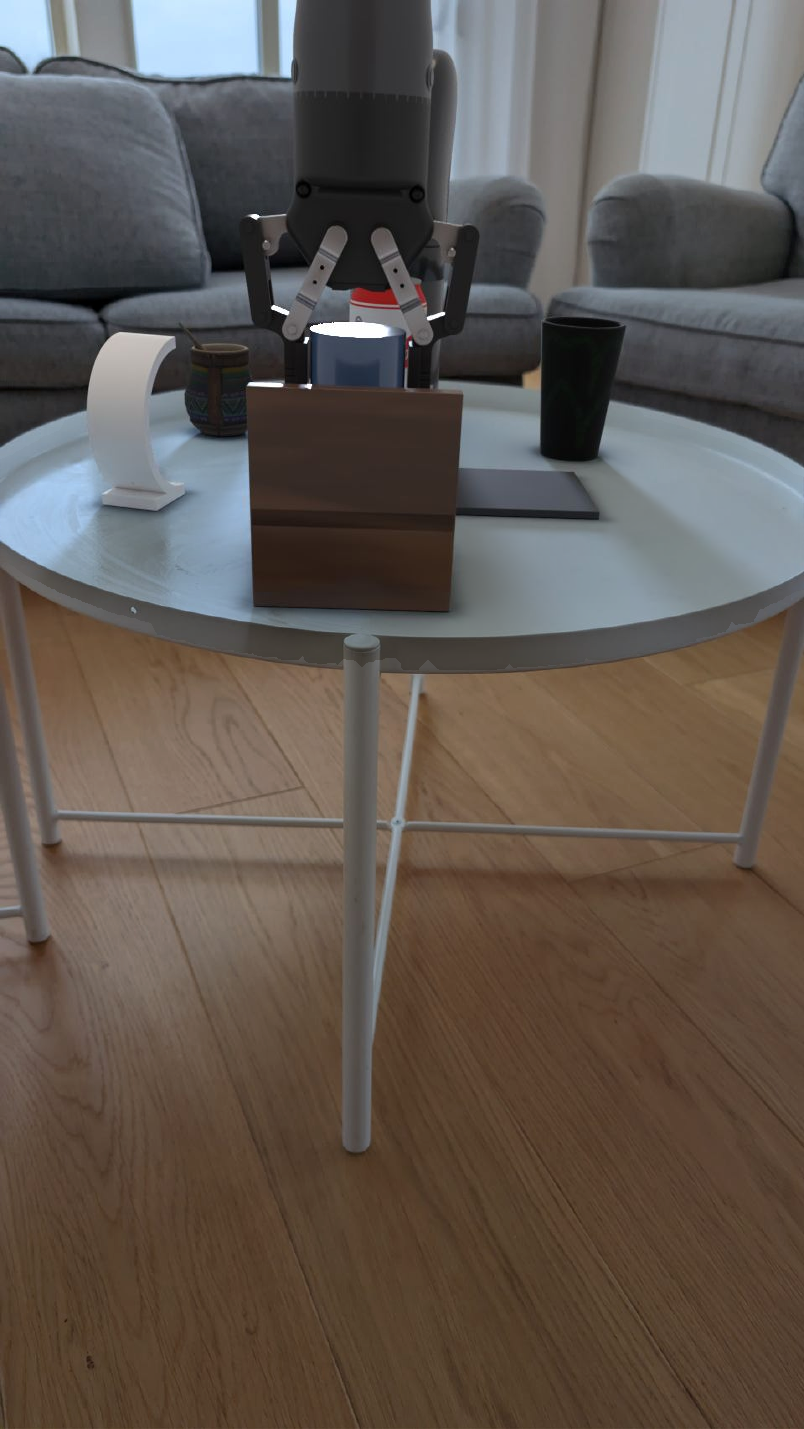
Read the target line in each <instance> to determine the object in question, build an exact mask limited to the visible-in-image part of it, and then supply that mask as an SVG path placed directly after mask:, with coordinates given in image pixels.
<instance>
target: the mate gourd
mask: <svg viewBox="0 0 804 1429" xmlns="http://www.w3.org/2000/svg"><path fill="white" fill-rule="evenodd" d="M178 326H180V328H181V329H182V330H183V332H184V334H186V336H187V337H188V339H189V340H190V341H191V342H192V343H193V344H194V345H193V346H192V347H190V349H189V351H190V363H191V370H190V374H189V378H188V381H187V383H186V385H185V390H184V394H183V395H184V406H185V410H186V413H187V415H188V417H189V422H190V423H191V424H192V425H193V426H194V427H195V428H196V429H197V430H198V431H200V433H202V434H205V435H209V436H215V437H234V436H239V435H243V434H245V433H247V432H248V430H247V399H246V386H247V385H248V383H249V382H255V381H254V380H253V377H252V374H251V371H250V366H249V363H250V354H249V353H250V352H249V351H250V349H249V348H248V346H245V345H242V344H237V343H225V342H224V343H222V342H221V343H220V342H219V343H216V342H215V343H204V344H203V343H200V342H199V340H198V339H197V338H196V337H195V336H194V335H193V334H192V333H191V332H190V331H189V329H187V327H186V326H185V325H184V324H182V323H181V322H179V323H178Z"/></svg>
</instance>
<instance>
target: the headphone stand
mask: <svg viewBox="0 0 804 1429" xmlns="http://www.w3.org/2000/svg"><path fill="white" fill-rule="evenodd" d="M176 348H177V344H176V336H173V335H161V334H149V333H135V332H124V331H118V332H116V333H114V334H113V335H111V336H109V338H108V339H107V340H106V341H105V342H104V344H103V346H102V347H101V348H100V350H99V352H98V354H97V356H96V358H95V361H94V364H93V366H92V369H91V374H90V378H89V383H88V390H87V399H86V423H87V424H86V426H87V434H88V440H89V445H90V449H91V453H92V456H93V459H94V462H95V465H96V467H97V468H98V471H99V473H100V474H101V476H102V477H103V479H104V480H105V481H106V482H107V483H108V484H109V485H110V486H112V488H109V489H108V490H106V491H105V492H103V493H101V499H102V500H101V501H102V505H105V506H115V507H122V508H130V509H139V510H146V511H147V510H148V511H155V512H158V511H160V510H161V509H163V508H164V507H166V506H167V505H169V504H170V503H172V502H174V501H176V500H178V498H180V497H182V496H184V495H185V494H186V489H185V488H186V487H185V483H183V482H177V481H176V482H175V481H167V480H166V478H165V477H164V476H163V475H162V473H161V471H160V470H159V466H158V464H157V462H156V460H155V456H154V451H153V448H152V442H151V433H150V408H151V400H152V391H153V387H154V383H155V379H156V377H157V373H158V371H159V368H160V366H161V364H162V363H163V361H164V359H165V358H166V356H167V355H168V354H169V353H170V352H172V351H173V350H175V349H176Z"/></svg>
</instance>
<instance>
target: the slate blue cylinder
mask: <svg viewBox="0 0 804 1429" xmlns="http://www.w3.org/2000/svg"><path fill="white" fill-rule="evenodd" d="M406 334H407V333H406V331H405V330H403V329H401V328H397V327H392V326H386V325H378V324H365V323H349V322H334V323H333V322H332V323H323V324H321V323H320V324H318V325H313V326H310V328H309V384H312V385H340V386H367V387H395V388H404V386H405V360H406Z"/></svg>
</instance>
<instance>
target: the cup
mask: <svg viewBox="0 0 804 1429" xmlns="http://www.w3.org/2000/svg"><path fill="white" fill-rule="evenodd" d="M540 323H541V324H540V326H541V328H540V329H541V331H540V333H541V334H540V335H541V336H540V338H541V340H540V402H539V404H540V406H539V408H540V409H539V410H540V411H539V412H540V413H539V453H540V454H541V455H543V456H545V457H547V458H550V459H554V460H562V461H568V462H569V461H570V462H583V461H592V460H594V459H597V457H598V456H599V451H600V447H601V441H602V437H603V432H604V429H605V424H606V419H607V415H608V410H609V406H610V401H611V396H612V392H613V387H614V383H615V379H616V374H617V369H618V366H619V365H618V364H619V362H620V357H621V356H620V355H621V352H622V347H623V342H624V338H625V334H626V329H627V325H626V324H625V323H624V322H621V321H618V320H612V319H608V318H607V319H606V318H599V317H591V316H590V317H587V316H550V317H544V318H543V319H541V322H540Z"/></svg>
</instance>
